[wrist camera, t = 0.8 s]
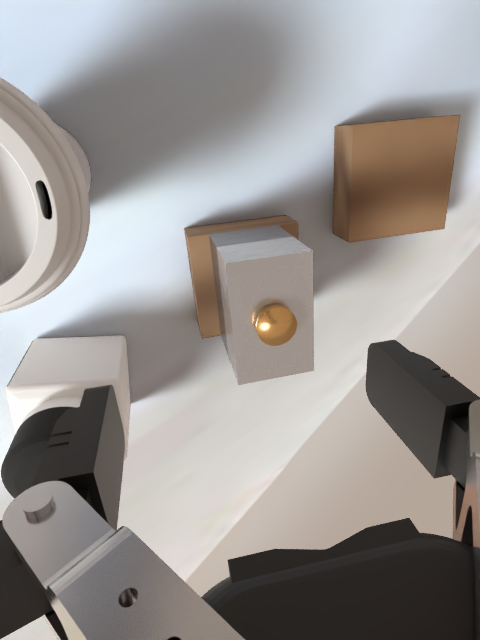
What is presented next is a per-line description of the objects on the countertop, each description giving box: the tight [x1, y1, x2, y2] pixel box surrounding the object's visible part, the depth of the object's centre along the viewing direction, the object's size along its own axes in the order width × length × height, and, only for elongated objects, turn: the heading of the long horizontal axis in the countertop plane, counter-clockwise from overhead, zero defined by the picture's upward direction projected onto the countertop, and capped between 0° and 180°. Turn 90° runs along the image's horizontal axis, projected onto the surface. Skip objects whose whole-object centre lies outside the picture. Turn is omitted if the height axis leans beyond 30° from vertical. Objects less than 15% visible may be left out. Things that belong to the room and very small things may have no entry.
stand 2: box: [333, 115, 460, 242], centre depth 31 cm, size 8×8×3 cm
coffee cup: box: [0, 78, 91, 313], centre depth 20 cm, size 10×10×15 cm
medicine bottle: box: [1, 335, 131, 498], centre depth 29 cm, size 7×7×12 cm
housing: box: [209, 225, 314, 385], centre depth 27 cm, size 8×5×8 cm, turn 5°
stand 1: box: [184, 215, 298, 338], centre depth 31 cm, size 8×8×3 cm
